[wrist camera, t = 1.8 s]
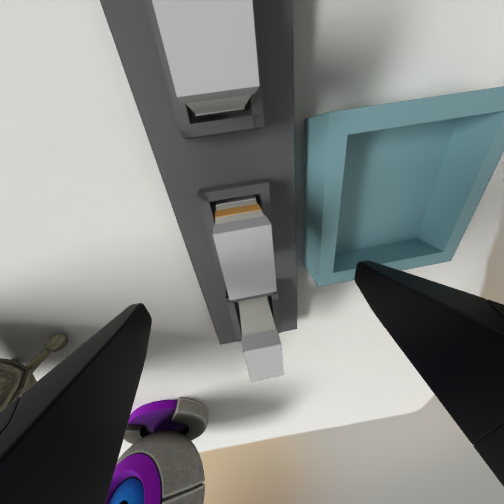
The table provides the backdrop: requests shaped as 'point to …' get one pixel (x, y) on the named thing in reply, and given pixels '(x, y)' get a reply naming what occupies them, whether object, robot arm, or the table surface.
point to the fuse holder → (220, 151)
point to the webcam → (161, 455)
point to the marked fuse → (244, 247)
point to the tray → (397, 180)
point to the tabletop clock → (24, 372)
